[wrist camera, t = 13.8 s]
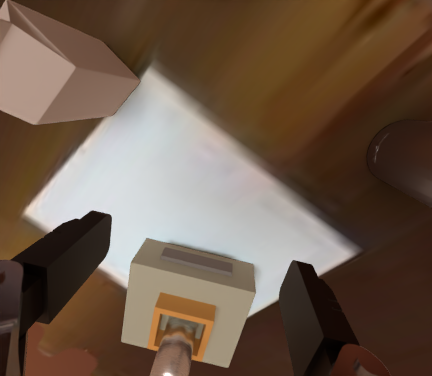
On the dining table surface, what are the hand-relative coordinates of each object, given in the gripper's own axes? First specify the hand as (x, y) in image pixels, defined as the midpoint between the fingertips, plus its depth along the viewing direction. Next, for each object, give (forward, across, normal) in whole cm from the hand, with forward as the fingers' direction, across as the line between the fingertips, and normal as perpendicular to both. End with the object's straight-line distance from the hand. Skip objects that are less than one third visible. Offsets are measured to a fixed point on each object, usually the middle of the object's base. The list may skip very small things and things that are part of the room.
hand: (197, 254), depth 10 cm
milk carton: (+28, +19, -5) cm, 34 cm away
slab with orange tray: (+28, 0, +29) cm, 40 cm away
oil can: (+21, 0, +30) cm, 37 cm away
